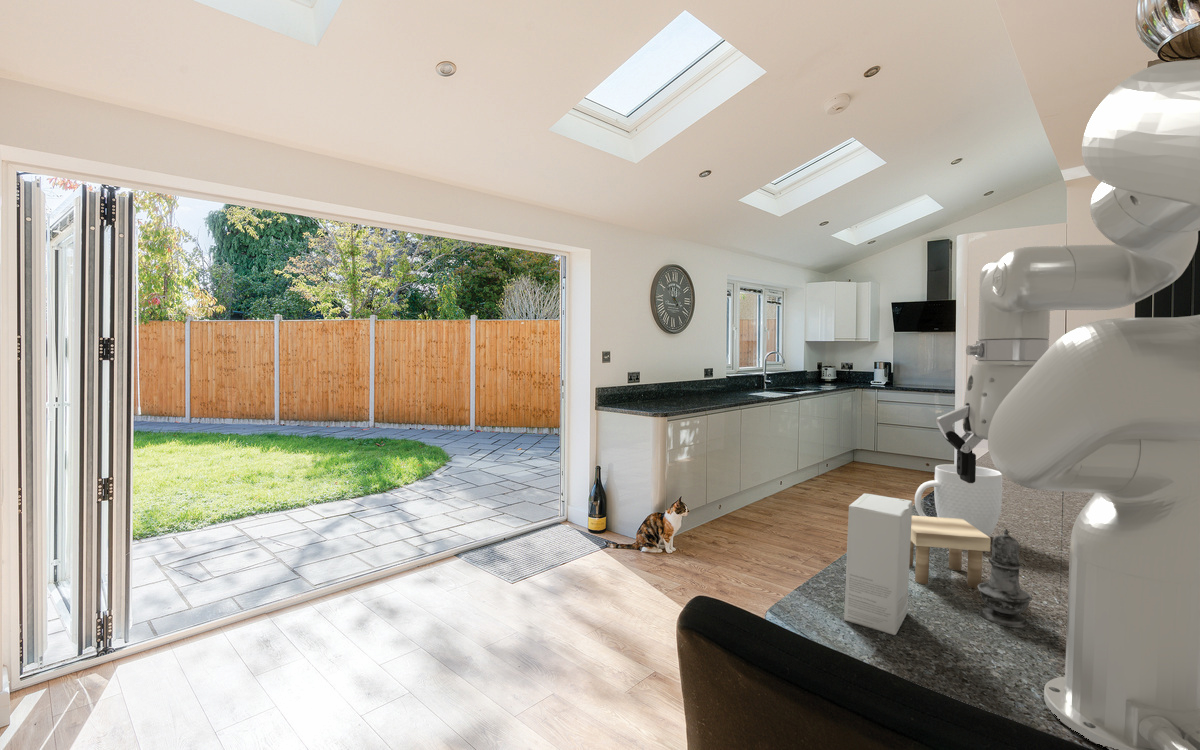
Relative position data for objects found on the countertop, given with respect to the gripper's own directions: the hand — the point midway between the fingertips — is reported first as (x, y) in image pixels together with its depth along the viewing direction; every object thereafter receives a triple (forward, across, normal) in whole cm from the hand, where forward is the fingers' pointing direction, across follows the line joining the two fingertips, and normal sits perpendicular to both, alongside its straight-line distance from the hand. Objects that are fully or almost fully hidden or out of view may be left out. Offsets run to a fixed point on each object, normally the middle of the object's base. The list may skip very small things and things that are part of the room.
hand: (1008, 483), depth 73 cm
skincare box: (+18, -16, -4) cm, 25 cm away
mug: (+18, +8, +37) cm, 42 cm away
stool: (+18, -3, +14) cm, 23 cm away
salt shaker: (+18, 0, 0) cm, 18 cm away
